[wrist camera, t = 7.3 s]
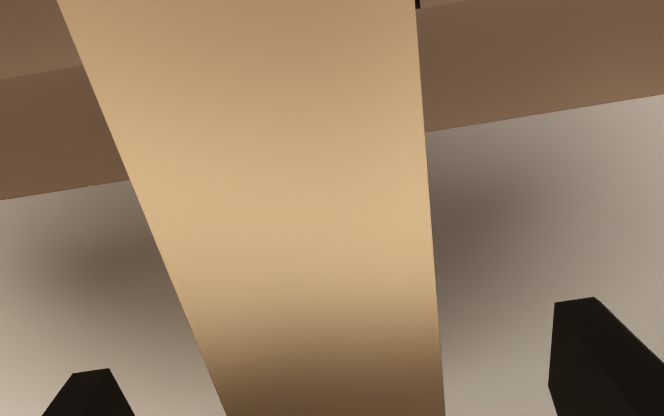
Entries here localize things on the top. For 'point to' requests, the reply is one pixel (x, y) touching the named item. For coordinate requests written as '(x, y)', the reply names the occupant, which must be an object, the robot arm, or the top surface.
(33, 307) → the top surface
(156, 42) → the rail
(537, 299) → the top surface
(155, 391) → the top surface
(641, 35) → the stepped wooden block
